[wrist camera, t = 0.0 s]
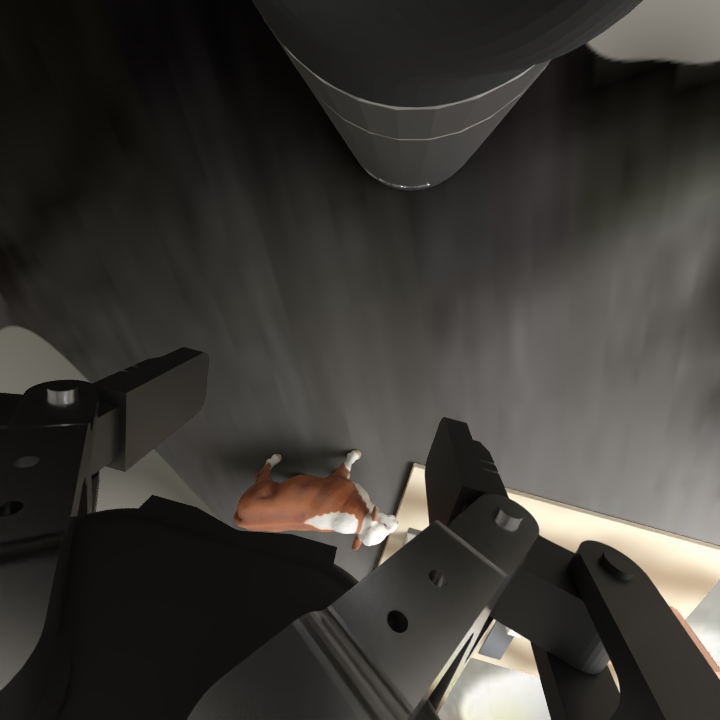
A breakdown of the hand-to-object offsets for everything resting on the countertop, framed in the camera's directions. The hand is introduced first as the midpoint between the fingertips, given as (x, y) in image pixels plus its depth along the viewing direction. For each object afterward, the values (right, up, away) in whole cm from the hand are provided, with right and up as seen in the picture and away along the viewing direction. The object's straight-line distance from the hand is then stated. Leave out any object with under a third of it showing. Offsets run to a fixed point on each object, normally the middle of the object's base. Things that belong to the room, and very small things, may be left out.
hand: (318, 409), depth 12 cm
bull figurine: (-2, -8, +22) cm, 23 cm away
